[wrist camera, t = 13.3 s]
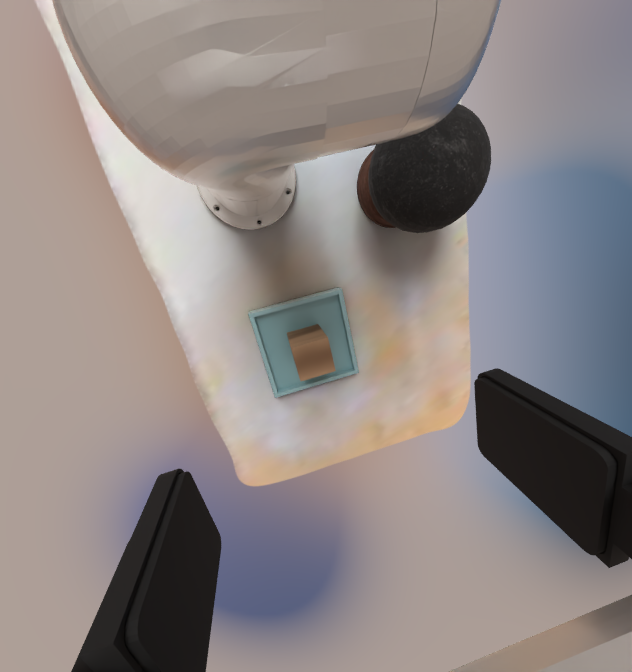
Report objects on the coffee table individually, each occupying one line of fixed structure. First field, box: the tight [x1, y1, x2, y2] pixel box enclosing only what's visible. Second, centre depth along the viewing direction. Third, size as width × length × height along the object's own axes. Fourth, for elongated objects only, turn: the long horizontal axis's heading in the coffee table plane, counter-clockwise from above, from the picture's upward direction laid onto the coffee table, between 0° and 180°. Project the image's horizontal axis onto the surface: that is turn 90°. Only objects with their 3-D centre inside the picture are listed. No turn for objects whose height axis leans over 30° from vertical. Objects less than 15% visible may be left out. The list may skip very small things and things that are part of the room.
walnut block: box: [287, 324, 336, 381], centre depth 42 cm, size 5×5×7 cm
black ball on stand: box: [357, 104, 491, 233], centre depth 35 cm, size 13×13×15 cm
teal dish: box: [248, 287, 359, 398], centre depth 46 cm, size 14×14×2 cm
